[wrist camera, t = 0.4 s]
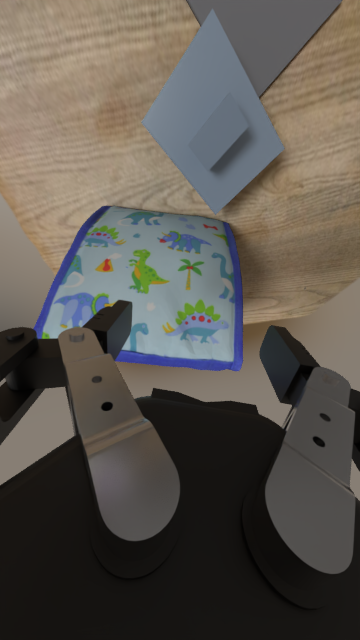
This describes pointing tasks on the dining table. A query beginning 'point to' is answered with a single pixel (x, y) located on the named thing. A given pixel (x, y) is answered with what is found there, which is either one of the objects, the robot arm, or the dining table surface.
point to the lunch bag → (154, 287)
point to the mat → (265, 31)
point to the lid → (213, 119)
